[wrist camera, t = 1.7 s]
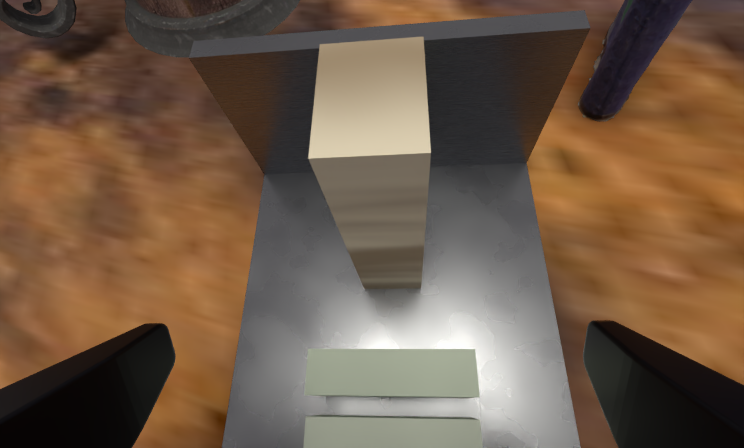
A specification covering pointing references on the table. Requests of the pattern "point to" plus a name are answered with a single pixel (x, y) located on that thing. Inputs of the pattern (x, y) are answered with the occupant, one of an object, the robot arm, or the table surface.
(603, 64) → the flask
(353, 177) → the birch block
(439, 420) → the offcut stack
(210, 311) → the table surface
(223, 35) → the tankard
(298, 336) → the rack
